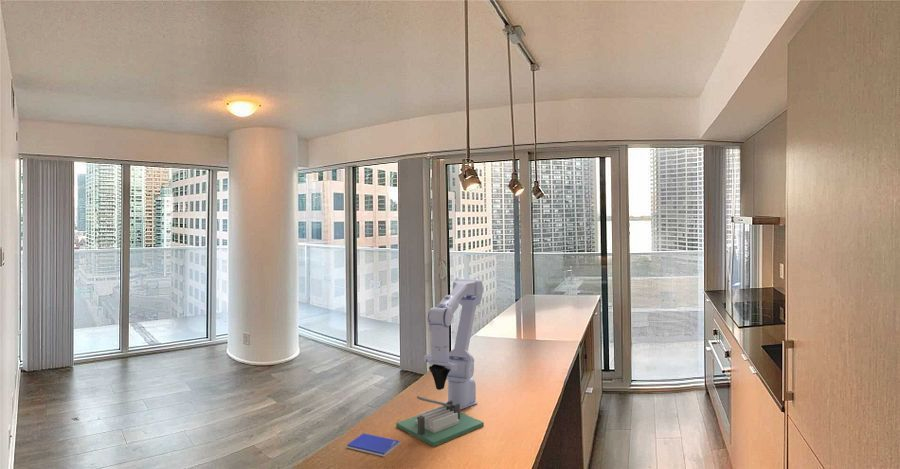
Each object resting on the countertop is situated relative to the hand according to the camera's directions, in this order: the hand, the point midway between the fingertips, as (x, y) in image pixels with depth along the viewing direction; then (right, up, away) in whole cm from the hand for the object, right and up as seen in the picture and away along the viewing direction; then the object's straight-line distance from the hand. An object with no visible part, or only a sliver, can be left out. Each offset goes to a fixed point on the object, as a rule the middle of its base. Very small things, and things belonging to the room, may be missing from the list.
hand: (440, 388), depth 150 cm
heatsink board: (0, -11, -3) cm, 11 cm away
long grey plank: (-1, -3, -4) cm, 5 cm away
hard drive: (-18, -12, -16) cm, 27 cm away
